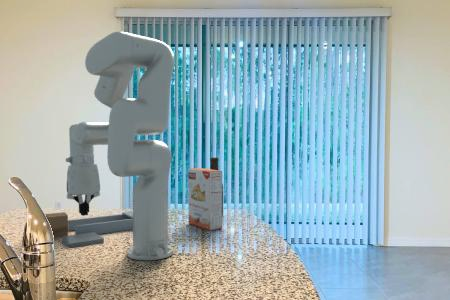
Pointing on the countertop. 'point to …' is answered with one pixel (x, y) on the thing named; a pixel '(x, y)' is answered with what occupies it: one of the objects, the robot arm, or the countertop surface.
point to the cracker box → (205, 198)
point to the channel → (102, 224)
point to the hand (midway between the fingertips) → (84, 214)
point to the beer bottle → (215, 167)
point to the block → (58, 223)
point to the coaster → (82, 239)
